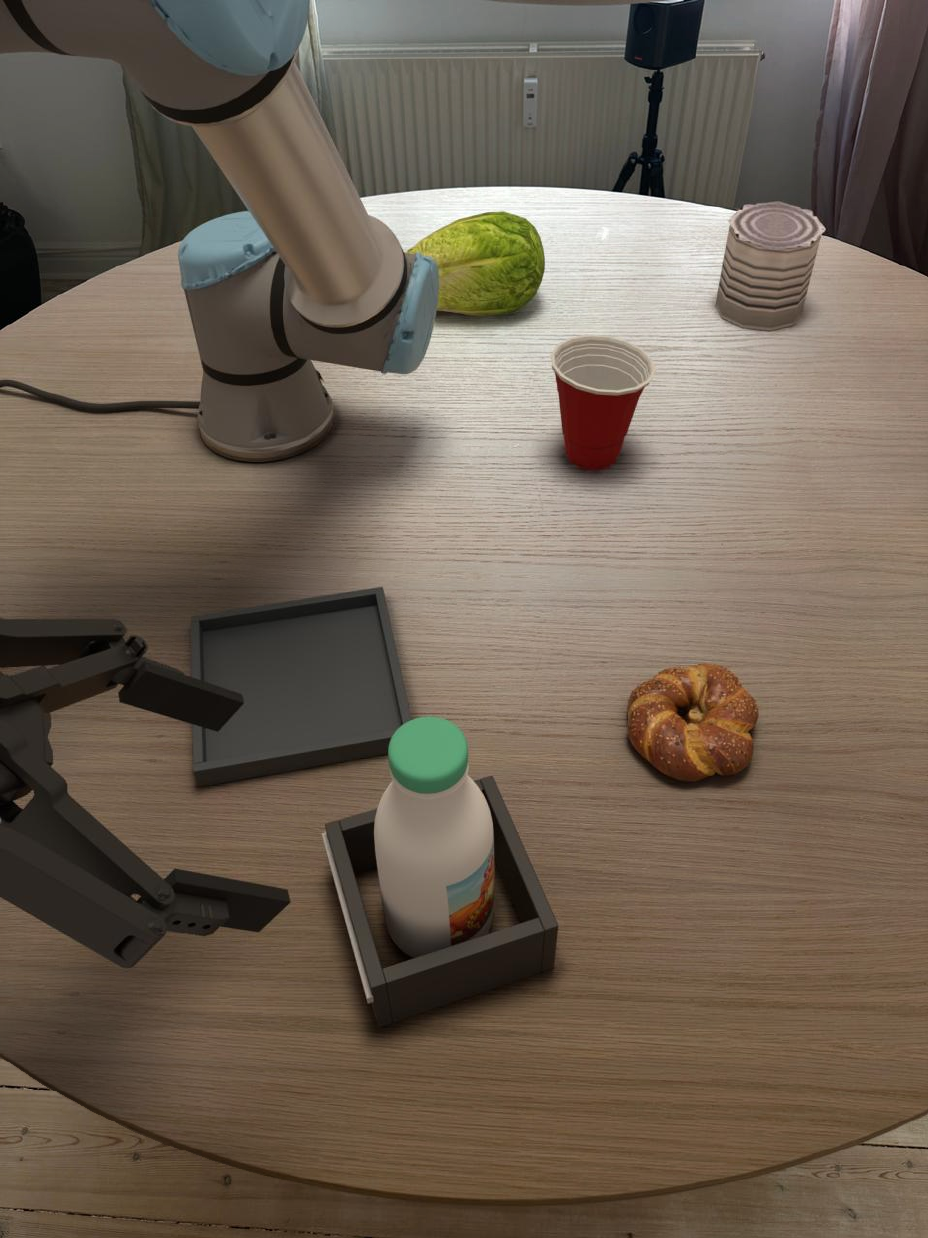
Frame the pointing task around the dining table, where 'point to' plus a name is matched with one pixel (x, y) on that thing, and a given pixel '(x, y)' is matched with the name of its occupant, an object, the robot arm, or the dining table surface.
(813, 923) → the dining table surface
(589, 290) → the dining table surface
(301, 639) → the tray
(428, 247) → the lettuce
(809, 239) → the can
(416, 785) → the milk bottle
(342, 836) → the collar base
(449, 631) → the dining table surface
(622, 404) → the plastic cup
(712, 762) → the pretzel
